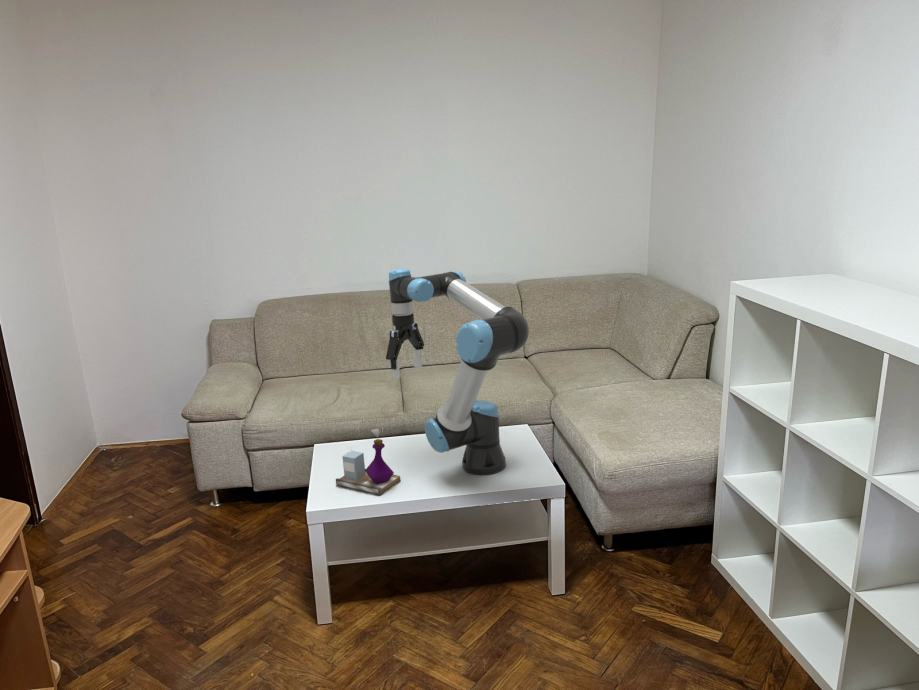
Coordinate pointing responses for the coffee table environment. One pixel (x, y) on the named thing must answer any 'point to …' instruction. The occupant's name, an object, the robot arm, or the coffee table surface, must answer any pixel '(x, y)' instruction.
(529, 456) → the coffee table surface
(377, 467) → the perfume bottle
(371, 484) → the display board
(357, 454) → the tea tin
